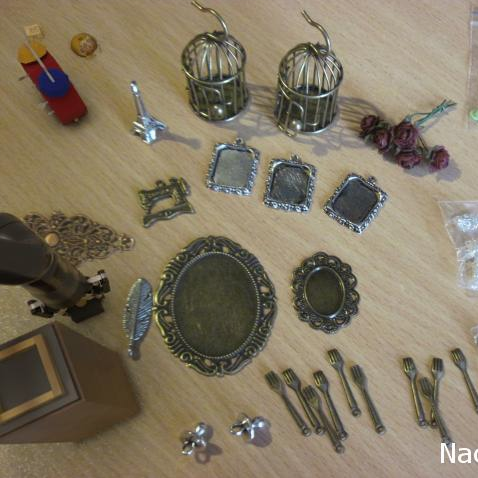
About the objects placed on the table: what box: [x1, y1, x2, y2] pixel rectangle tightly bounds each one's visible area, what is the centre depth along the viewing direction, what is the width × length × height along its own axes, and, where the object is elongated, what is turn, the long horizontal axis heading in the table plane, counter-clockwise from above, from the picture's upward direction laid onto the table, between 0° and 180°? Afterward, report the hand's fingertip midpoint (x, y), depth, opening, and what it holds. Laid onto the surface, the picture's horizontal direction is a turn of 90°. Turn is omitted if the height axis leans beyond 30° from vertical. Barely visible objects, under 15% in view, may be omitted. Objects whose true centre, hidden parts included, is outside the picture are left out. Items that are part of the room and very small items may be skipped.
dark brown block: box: [67, 298, 105, 325], centre depth 104 cm, size 5×5×4 cm
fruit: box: [70, 32, 103, 67], centre depth 129 cm, size 8×8×4 cm
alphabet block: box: [23, 23, 45, 42], centre depth 129 cm, size 3×3×3 cm
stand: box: [0, 319, 141, 446], centre depth 88 cm, size 12×12×36 cm
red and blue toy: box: [17, 39, 89, 126], centre depth 115 cm, size 15×9×20 cm, turn 38°
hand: (85, 304), depth 105 cm, fingers closed on dark brown block, 5 cm apart
